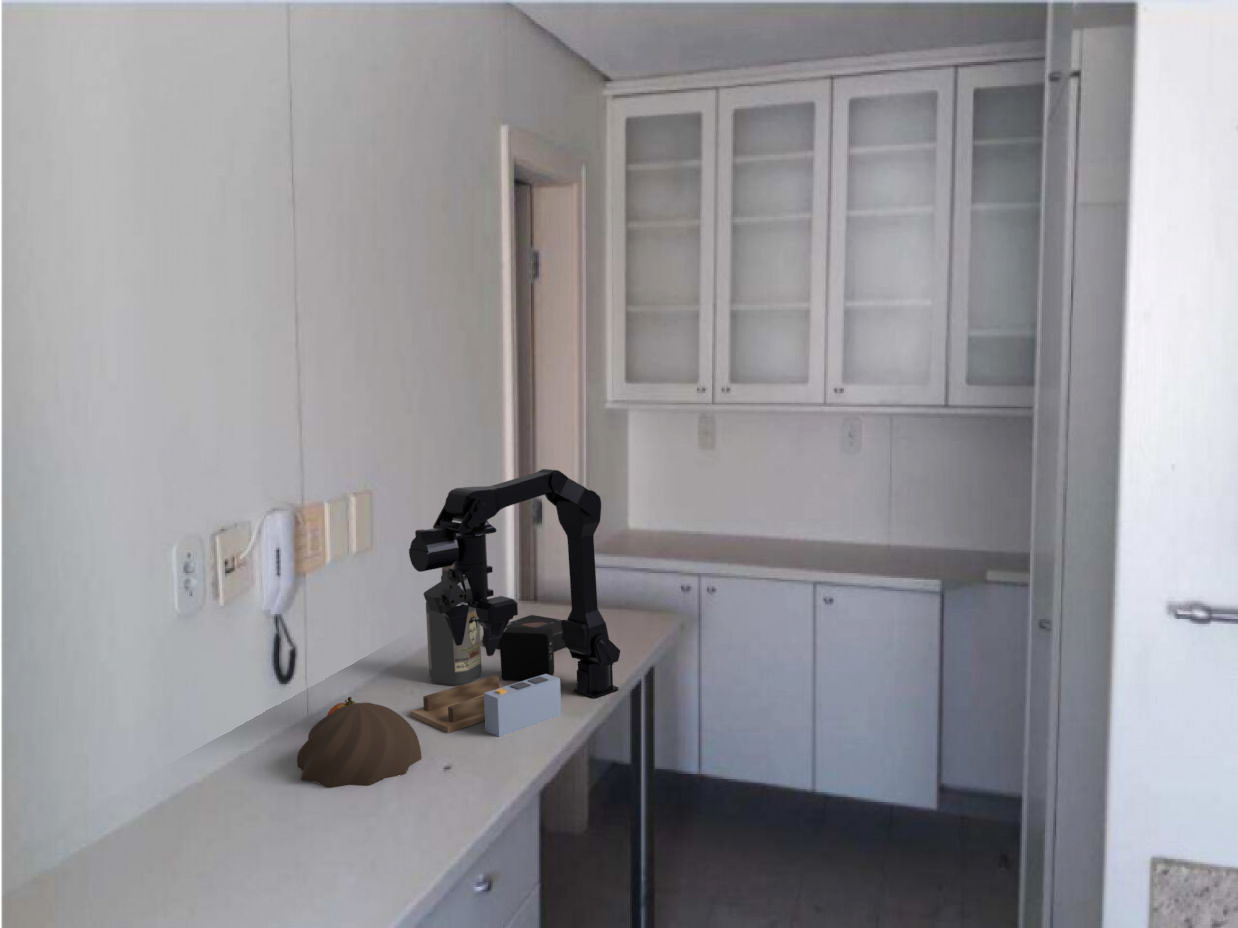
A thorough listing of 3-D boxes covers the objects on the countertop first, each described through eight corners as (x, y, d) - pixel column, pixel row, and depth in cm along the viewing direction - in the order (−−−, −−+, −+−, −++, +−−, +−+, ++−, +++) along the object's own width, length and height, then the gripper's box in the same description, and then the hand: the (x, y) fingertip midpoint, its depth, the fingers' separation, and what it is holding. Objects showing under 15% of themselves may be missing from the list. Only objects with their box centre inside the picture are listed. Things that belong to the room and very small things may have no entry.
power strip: (547, 710, 184) (545, 671, 183) (561, 715, 181) (559, 676, 180) (485, 731, 174) (483, 690, 174) (499, 737, 172) (497, 695, 171)
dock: (499, 688, 196) (498, 671, 196) (537, 703, 188) (537, 685, 187) (410, 716, 183) (410, 697, 182) (448, 732, 174) (447, 713, 174)
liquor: (424, 683, 201) (416, 536, 198) (448, 669, 210) (441, 528, 206) (463, 687, 198) (456, 538, 194) (486, 673, 206) (480, 530, 203)
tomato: (386, 713, 180) (361, 691, 176) (368, 748, 176) (342, 727, 172) (356, 712, 185) (330, 691, 181) (338, 746, 181) (312, 725, 176)
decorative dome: (441, 745, 169) (439, 687, 168) (382, 795, 150) (378, 730, 149) (341, 735, 175) (338, 680, 174) (271, 782, 156) (267, 720, 155)
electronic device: (549, 682, 199) (547, 633, 198) (501, 680, 201) (499, 632, 200) (554, 675, 204) (553, 628, 202) (507, 674, 206) (505, 626, 204)
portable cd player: (530, 630, 239) (529, 614, 239) (586, 640, 230) (586, 623, 229) (482, 647, 226) (481, 630, 226) (540, 659, 216) (539, 641, 216)
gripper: (400, 562, 172) (404, 650, 174) (462, 577, 159) (467, 672, 161) (454, 552, 180) (458, 636, 182) (518, 565, 167) (521, 657, 168)
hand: (474, 650), depth 173 cm, fingers open, 9 cm apart
